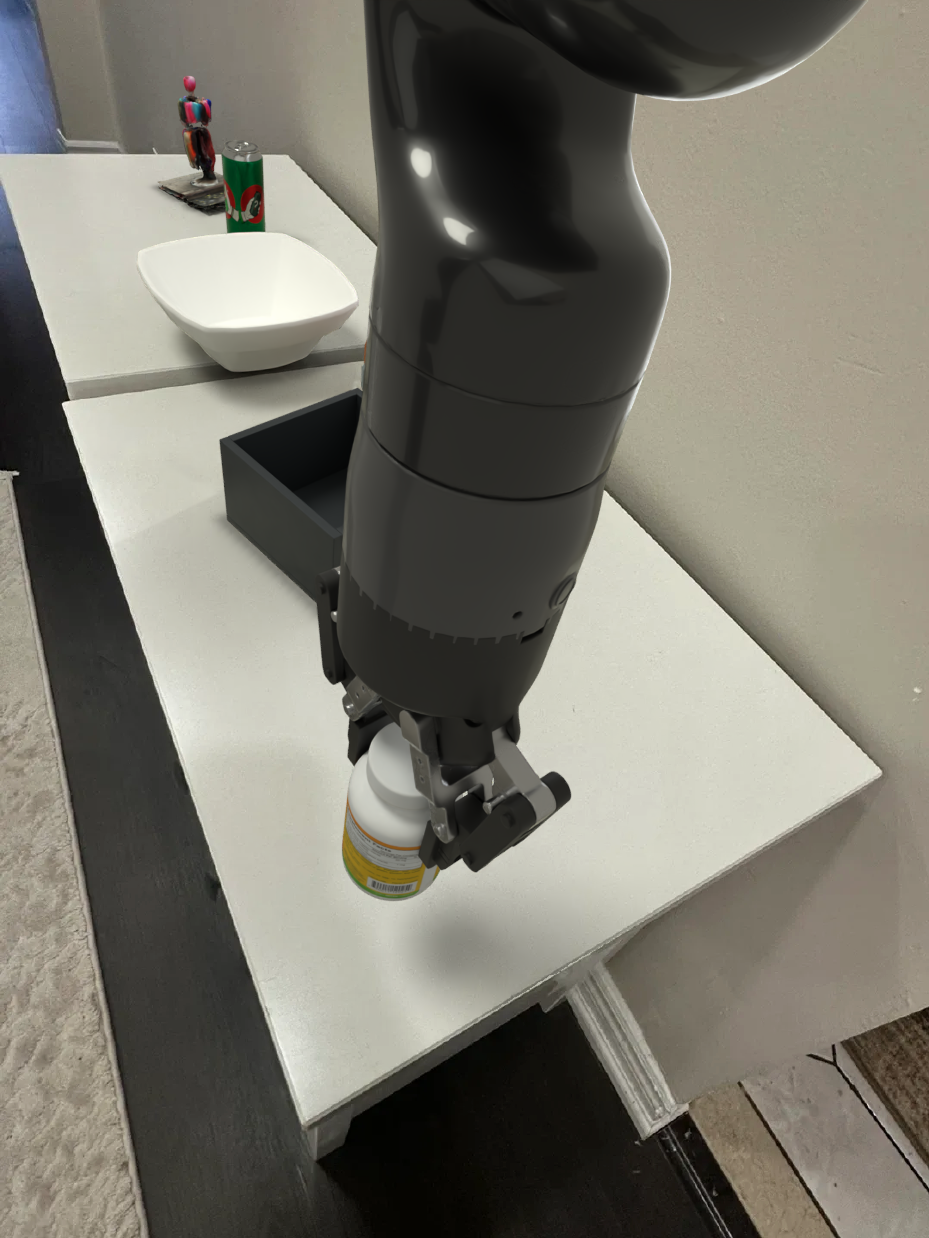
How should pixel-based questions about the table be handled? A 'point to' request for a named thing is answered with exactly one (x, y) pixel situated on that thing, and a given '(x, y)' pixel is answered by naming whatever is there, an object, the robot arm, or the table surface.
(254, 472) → the bin
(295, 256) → the bowl
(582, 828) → the table surface
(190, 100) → the statue
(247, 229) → the soda can
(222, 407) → the table surface
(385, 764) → the supplement bottle
